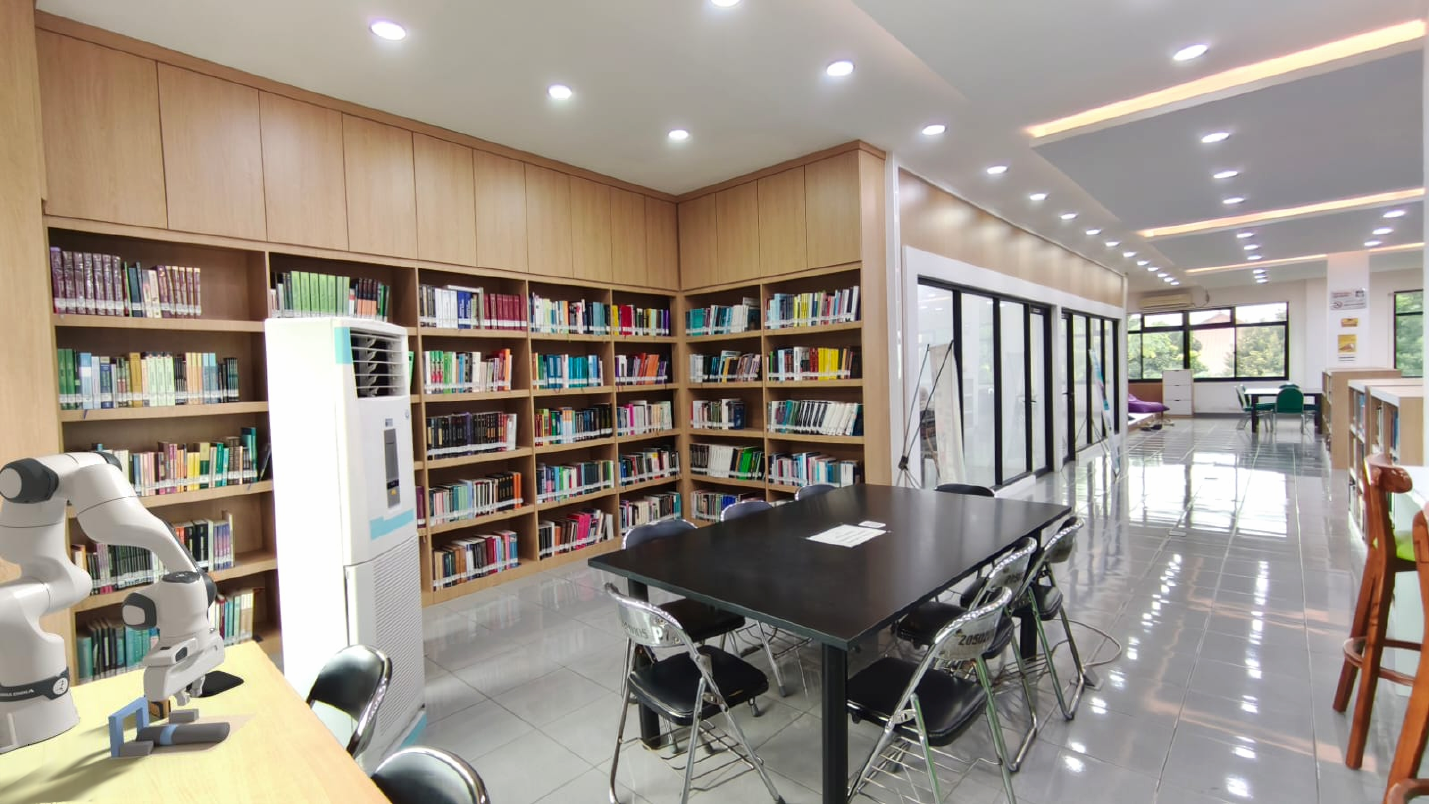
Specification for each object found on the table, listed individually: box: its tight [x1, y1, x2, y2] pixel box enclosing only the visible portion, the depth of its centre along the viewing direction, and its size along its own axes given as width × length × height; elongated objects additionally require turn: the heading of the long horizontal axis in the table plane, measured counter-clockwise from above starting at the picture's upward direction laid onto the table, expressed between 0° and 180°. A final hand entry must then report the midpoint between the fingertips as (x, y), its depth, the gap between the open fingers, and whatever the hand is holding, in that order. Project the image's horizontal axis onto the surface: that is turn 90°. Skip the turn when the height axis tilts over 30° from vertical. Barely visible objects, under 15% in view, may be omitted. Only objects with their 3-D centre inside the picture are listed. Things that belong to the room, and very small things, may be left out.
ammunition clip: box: [143, 694, 172, 720], centre depth 161 cm, size 11×2×12 cm, turn 61°
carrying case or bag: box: [185, 669, 245, 699], centre depth 175 cm, size 11×3×15 cm
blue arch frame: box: [107, 696, 150, 758], centre depth 146 cm, size 2×9×10 cm, turn 4°
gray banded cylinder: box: [134, 722, 230, 746], centre depth 147 cm, size 18×4×4 cm, turn 94°
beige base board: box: [108, 708, 259, 760], centre depth 150 cm, size 22×17×4 cm
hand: (189, 700), depth 146 cm, fingers open, 2 cm apart
